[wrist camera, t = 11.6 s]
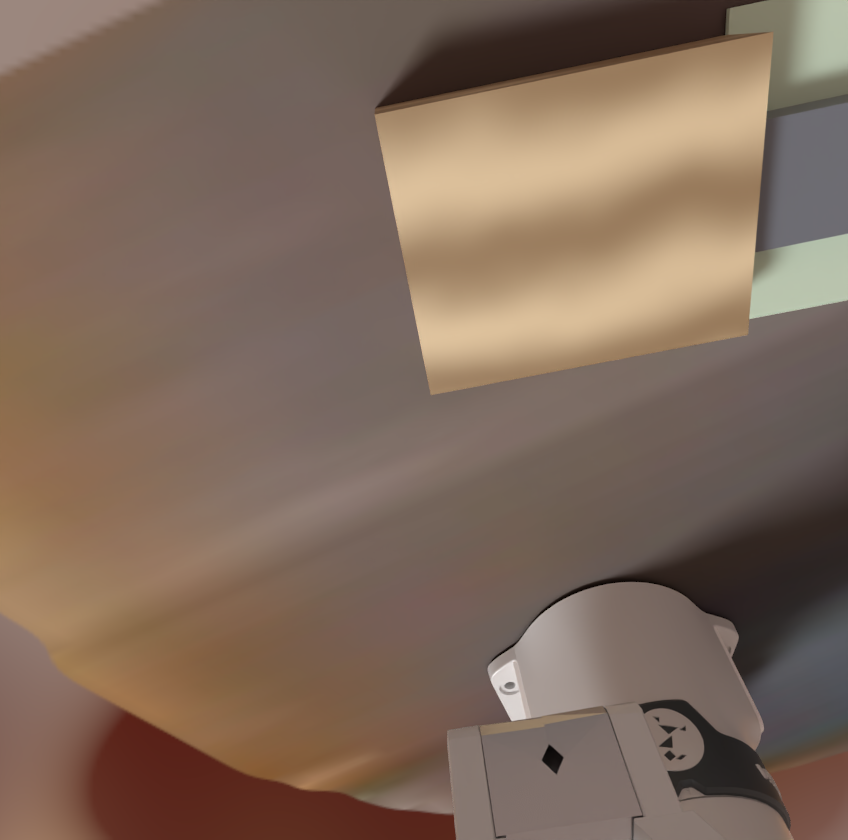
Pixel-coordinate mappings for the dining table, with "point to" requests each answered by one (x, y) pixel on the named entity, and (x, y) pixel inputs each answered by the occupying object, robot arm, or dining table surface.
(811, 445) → the dining table surface
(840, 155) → the grey flat block
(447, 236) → the square wooden plank
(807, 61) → the mat
